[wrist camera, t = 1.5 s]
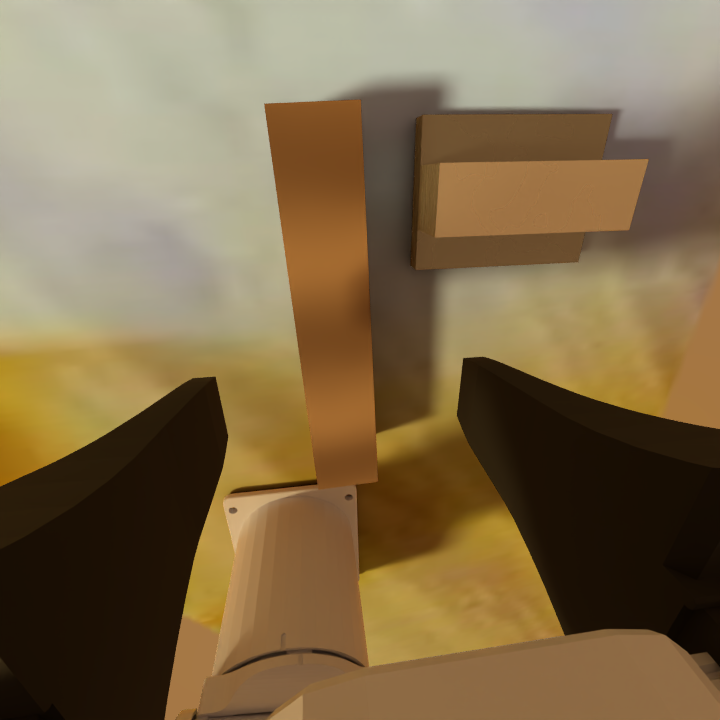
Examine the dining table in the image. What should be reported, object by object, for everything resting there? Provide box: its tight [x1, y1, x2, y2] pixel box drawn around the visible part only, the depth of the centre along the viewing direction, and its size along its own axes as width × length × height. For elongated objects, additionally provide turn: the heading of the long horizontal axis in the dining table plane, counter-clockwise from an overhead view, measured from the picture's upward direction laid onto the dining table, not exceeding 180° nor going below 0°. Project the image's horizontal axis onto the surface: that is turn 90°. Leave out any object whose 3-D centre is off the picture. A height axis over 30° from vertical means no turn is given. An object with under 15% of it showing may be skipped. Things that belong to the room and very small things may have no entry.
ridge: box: [410, 114, 649, 270], centre depth 16 cm, size 6×8×4 cm
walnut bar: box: [264, 100, 378, 490], centre depth 17 cm, size 16×3×4 cm, turn 3°
